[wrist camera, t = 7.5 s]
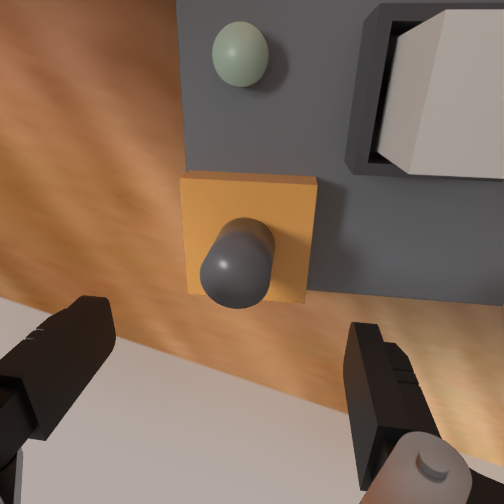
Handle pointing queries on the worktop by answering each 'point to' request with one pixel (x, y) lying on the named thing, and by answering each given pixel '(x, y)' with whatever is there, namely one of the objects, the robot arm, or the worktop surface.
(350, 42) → the breaker panel
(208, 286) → the cap
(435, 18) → the breaker plain
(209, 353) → the worktop surface
